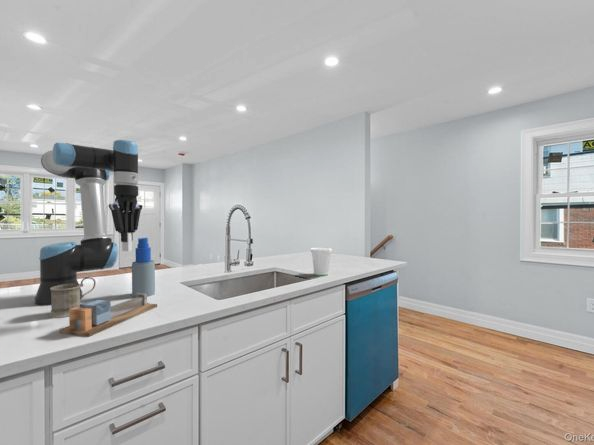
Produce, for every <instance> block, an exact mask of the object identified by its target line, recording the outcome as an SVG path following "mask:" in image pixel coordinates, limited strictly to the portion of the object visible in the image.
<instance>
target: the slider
mask: <svg viewBox="0 0 594 445" xmlns="http://www.w3.org/2000/svg"><path fill="white" fill-rule="evenodd" d="M80 308H90V309H91V314H92V321H93V325H99V324H101V323H104V322H106V321H108V320H111V300H103V299H92V300H89V301H85V302H83V303H80Z"/></svg>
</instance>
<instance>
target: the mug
mask: <svg viewBox="0 0 594 445" xmlns="http://www.w3.org/2000/svg"><path fill="white" fill-rule="evenodd" d="M88 279H89V280H92V281H93V287H92V288H91V289H90V290H89V291H86V292H85V293H82V296H81V297H80V288H83V287H84V281H85V280H88ZM95 288H96V280H95V278H94V277H90V276H89V275H86V276H83V278H82V280H81V281H80V283H79V284H64V285H58V286H54V287H51V288H50V290H51V304H50V305H51V311H50V313H49V314H48V316H47V317H48V318H49V319H64V318H69V309H71V308H74V307H80V304H81V301H82V300H83V298H84V296H86V295H87V294H89V293H91V292H92V291H93V290H94V289H95Z"/></svg>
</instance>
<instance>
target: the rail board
mask: <svg viewBox="0 0 594 445" xmlns="http://www.w3.org/2000/svg"><path fill="white" fill-rule="evenodd" d="M157 307H158V304H157V303H150V302H149V303H148V297H147V294H143V293H138V294H137V297H133V298H131V299H127V300H125V301H122V302H120V303H116V304H114V305H112V306H111V320H108V321H106V322H104V323H101V324H99V325H93V321H92V314H91V309H90V308H80V307H74V308H71V309H69V317H68V319H69V322H68V323H69V325H68V326H64V327H62V328H59V333H60V334H66V335H73V336H74V335H76V336H81V337H82V336H83V337H91V336H93V335H96V334H98V333H100V332H102V331H105V330H106V329H110V328H112V327H114V326H117V325H119V324H121V323H123V322H125V321H128V320H130V319H132V318H135V317H137V316H139V315H141V314H144V313H146V312H148V311H150V310H153V309H155V308H157Z"/></svg>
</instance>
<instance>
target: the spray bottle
mask: <svg viewBox="0 0 594 445" xmlns="http://www.w3.org/2000/svg"><path fill="white" fill-rule="evenodd" d="M137 242H138V243H137V246H136V247H135V250H134V251H135V261H133V262H132V263H131V293H132V294H131V296H132V297H133V298H136V297H137V294H138V293H143V294H147V298H148V297H151V296H155V294H156V279H155V278H156V271H155V270H156V268H155V267H156V263H155V260H152V255H151V254H152V249H151V248H152V247H151V246H150V245H149V239H148V237H138V240H137Z"/></svg>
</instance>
